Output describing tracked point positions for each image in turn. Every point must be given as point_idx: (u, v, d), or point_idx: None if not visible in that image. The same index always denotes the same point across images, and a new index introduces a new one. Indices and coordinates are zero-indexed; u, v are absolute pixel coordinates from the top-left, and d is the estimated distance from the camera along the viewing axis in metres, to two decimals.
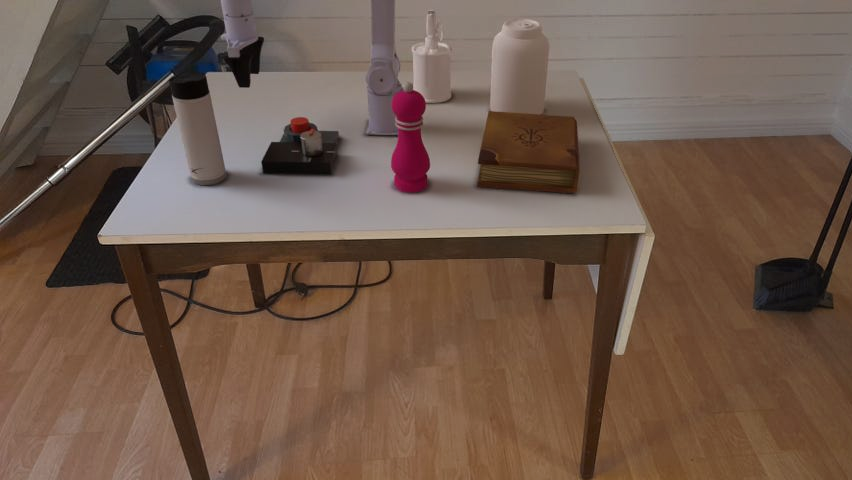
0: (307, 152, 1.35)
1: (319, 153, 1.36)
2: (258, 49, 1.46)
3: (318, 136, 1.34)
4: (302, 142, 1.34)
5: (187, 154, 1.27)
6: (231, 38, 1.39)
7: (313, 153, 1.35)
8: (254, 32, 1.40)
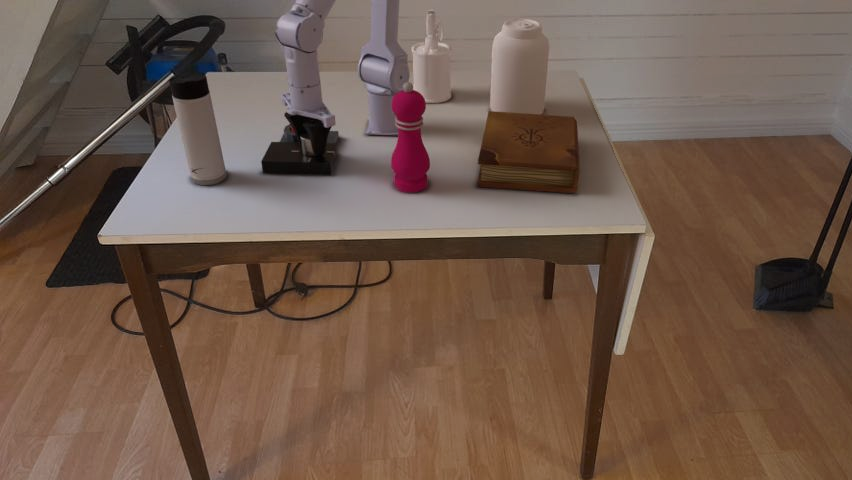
0: (307, 152, 1.35)
1: None
2: (310, 118, 1.36)
3: None
4: (302, 142, 1.34)
5: (187, 154, 1.27)
6: (308, 109, 1.29)
7: (313, 153, 1.35)
8: None
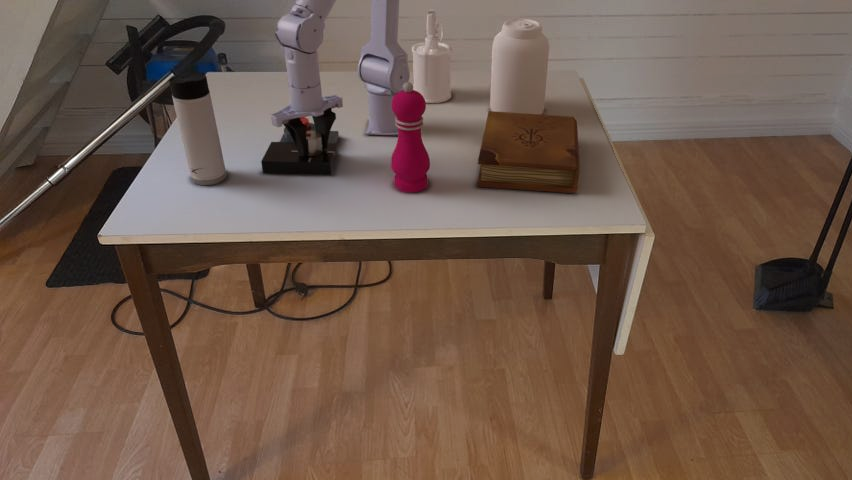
0: (321, 149, 1.36)
1: None
2: None
3: (315, 131, 1.36)
4: (316, 143, 1.34)
5: (187, 154, 1.27)
6: (322, 103, 1.32)
7: (322, 148, 1.37)
8: None
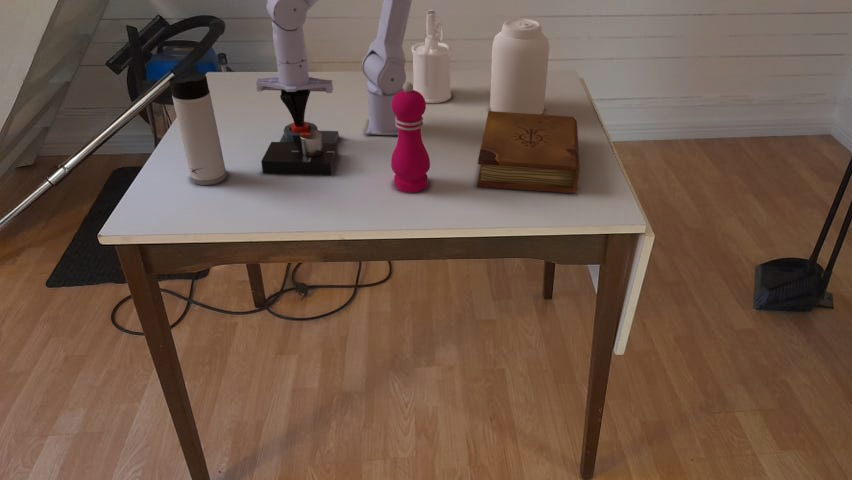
0: (321, 149, 1.36)
1: None
2: None
3: (315, 131, 1.36)
4: (316, 143, 1.34)
5: (187, 154, 1.27)
6: (305, 82, 1.36)
7: (322, 148, 1.37)
8: None
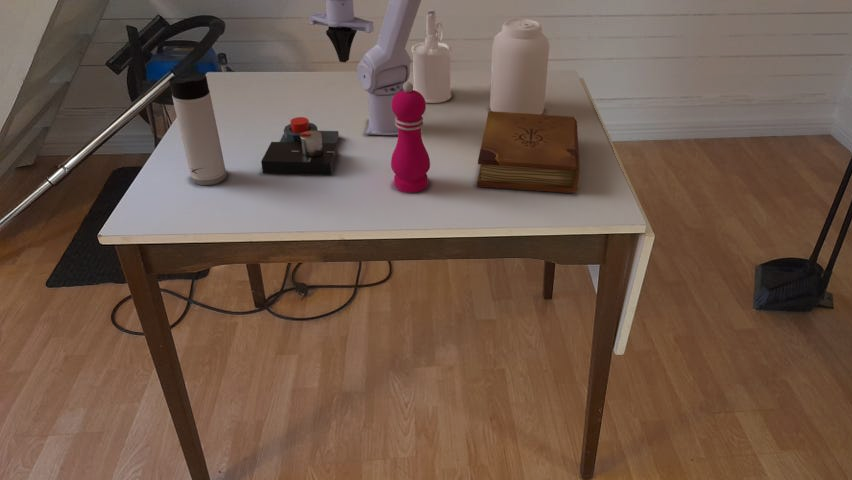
0: (321, 149, 1.36)
1: None
2: None
3: (315, 131, 1.36)
4: (316, 143, 1.34)
5: (187, 154, 1.27)
6: (348, 20, 1.49)
7: (322, 148, 1.37)
8: None
